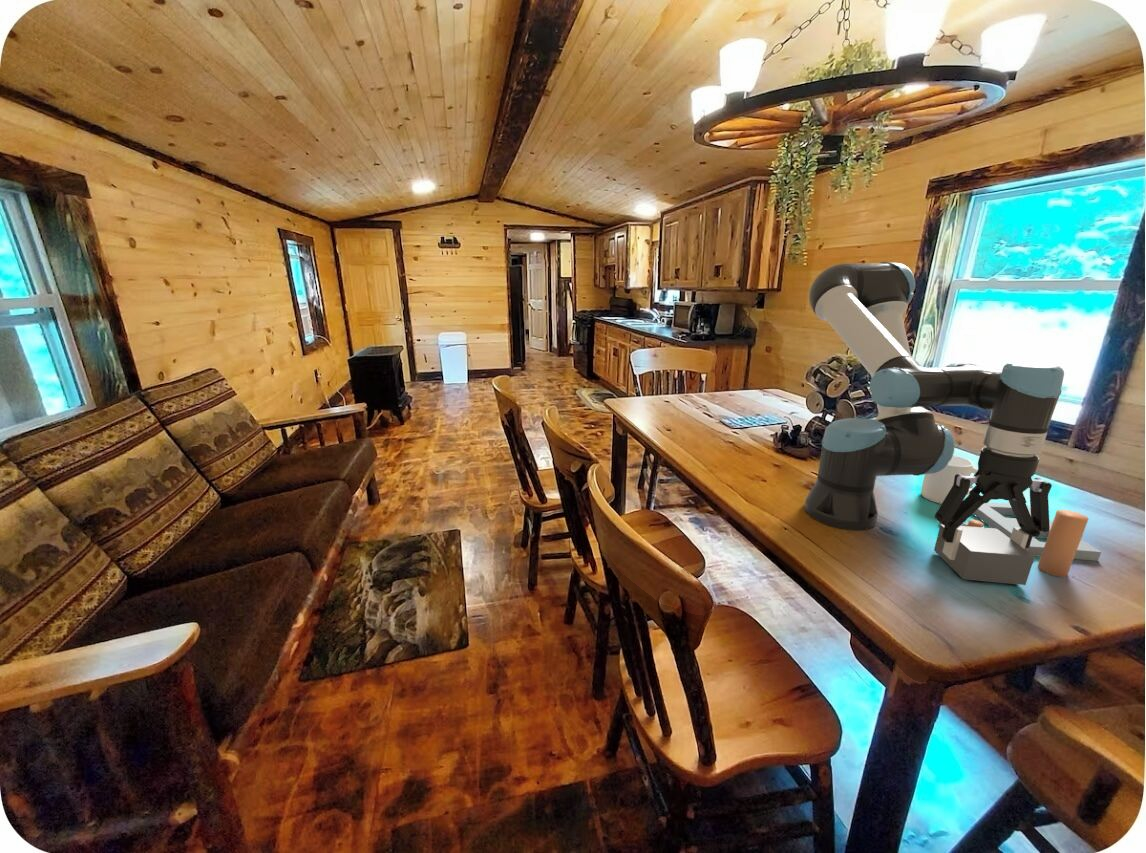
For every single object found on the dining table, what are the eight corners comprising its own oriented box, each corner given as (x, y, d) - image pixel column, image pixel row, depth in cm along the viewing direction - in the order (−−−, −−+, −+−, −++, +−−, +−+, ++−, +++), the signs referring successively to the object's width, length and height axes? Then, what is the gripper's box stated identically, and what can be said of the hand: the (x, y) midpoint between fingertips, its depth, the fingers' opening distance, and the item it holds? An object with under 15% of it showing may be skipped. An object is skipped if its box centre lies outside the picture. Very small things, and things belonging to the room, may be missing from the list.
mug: (986, 509, 108) (998, 469, 105) (929, 504, 111) (939, 465, 108) (966, 493, 116) (977, 455, 113) (914, 489, 119) (922, 452, 116)
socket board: (1026, 554, 90) (1029, 546, 90) (965, 508, 109) (967, 501, 108) (1097, 560, 88) (1101, 551, 87) (1022, 512, 106) (1025, 504, 106)
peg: (1048, 575, 84) (1068, 519, 80) (1032, 563, 88) (1050, 509, 84) (1073, 577, 83) (1095, 521, 79) (1056, 565, 87) (1076, 510, 83)
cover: (963, 579, 82) (970, 551, 81) (933, 549, 92) (940, 524, 90) (1025, 585, 80) (1034, 556, 79) (989, 554, 89) (996, 528, 88)
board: (957, 540, 96) (961, 524, 94) (938, 524, 102) (942, 508, 101) (994, 543, 94) (999, 527, 93) (973, 526, 101) (978, 511, 99)
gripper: (950, 454, 77) (924, 564, 84) (1106, 461, 73) (1065, 576, 79) (927, 440, 84) (904, 542, 91) (1068, 446, 80) (1033, 553, 86)
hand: (979, 558), depth 85 cm, fingers closed on cover, 10 cm apart
